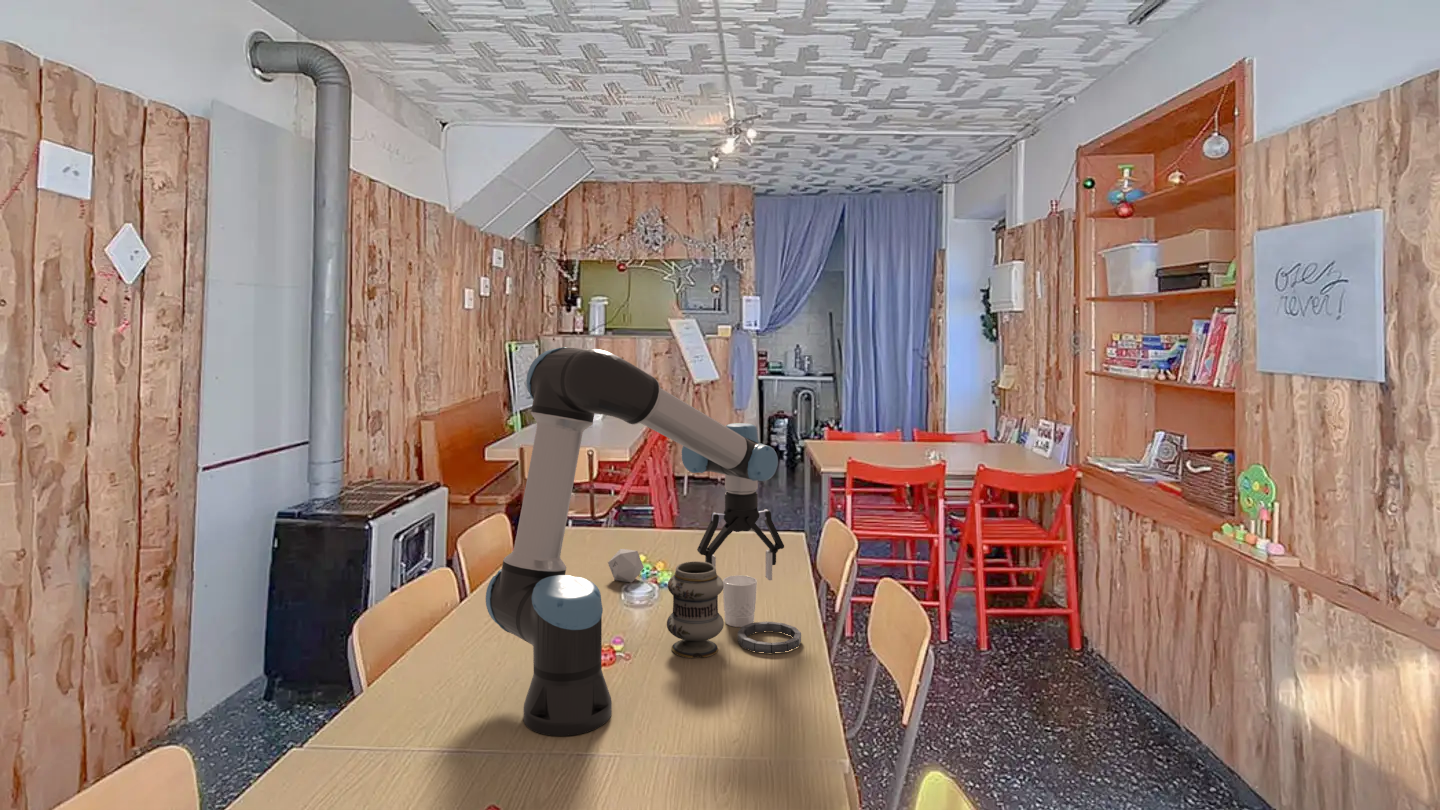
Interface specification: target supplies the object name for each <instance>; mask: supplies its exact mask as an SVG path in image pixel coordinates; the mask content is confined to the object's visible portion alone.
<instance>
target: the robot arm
mask: <svg viewBox="0 0 1440 810" xmlns="http://www.w3.org/2000/svg"><path fill="white" fill-rule="evenodd" d="M525 383H526V389H527V393H529V395H530V398H531V399H532V407H531V411H530V414H531V416H532V418H534V421H535V422H536V430H535V436H534V440H533V445H532V451H531V455H530V462H529V467H528V471H527V472H528V473H527V477H526V485H525V490H524V494H523V499H522V504H521V510H520V516H519V520H518V525H517V532H516V536H515V541H514V546H513V547H514V548H513V550H512V552H511V553H509V554H507V555H506V556H505V557H504V558H503V560H502V566H501V568H500V569H499V570H498V571H497V573H496V574H495V575H493V576H492V577H491V579H490V581H489V583H488V585H487V587H486V590H485V591H486V592H485V606H486V609H487V610H486V611H487V612H488V615H489V617H490V618H491V619H492V620H493V622H494V623H496V624H497V625H498V626H499V627H500V628H501V629H502V630H503V631H505V632H507V633H509V634H512V635H514V636H516V637H517V638H519V639H520V640H521V639H522V641H525V642H526V643H528V644H530V645H531V646H532V650H533V651H532V652H533V655H532V656H533V658H532V659H533V663H532V664H533V673H532V674H533V676H532V678H531V681H530V685H529V688H528V692H527V694H526V697H525V701H524V702H523V703H524V704H523V709H522V710H523V711H522V712H523V723H524V725H525V726H526V727H527V728H528V729H529V730H531V731H533V732H536V733H538V734H540V735H541V734H542V735H547V736H554V737H565V736H568V737H569V736H574V735H575V736H576V735H581V734H584V733H588V732H591V731H594V730H596V729H598V728H600V727H602V726H603V725H605V724H606V723H607V722H608V721H609V719H611V716H612V709H613V708H612V697H611V693H610V691H609V687H608V685H607V682H606V679H605V676H604V673H603V671H602V668H603V667H602V648H603V647H602V646H603V645H602V642H603V641H602V637H603V636H602V635H603V633H602V632H603V631H602V627H603V625H602V623H603V622H602V621H603V619H602V617H603V611H604V610H603V604H602V595H601V591H600V589H599V586H597V585H596V584H595V583H594V582H593V581H592V580H590V579H588V578H585V577H581V576H572V574H571V575H569V574H566V571H567V565H566V563H564V561H563V560H562V558H561V554H562V548H563V542H564V537H565V531H566V527H567V522H568V515H569V509H570V505H571V498H572V494H573V489H574V488H573V487H574V484H575V483H574V482H575V477H576V471H577V467H578V460H579V456H580V450H581V445H582V443H581V442H582V438H583V433H584V432H585V430H587V429H588V428H589V427H591V426H593V423H594V418H595V415H596V414H599V415H604V416H609V417H613V418H616V419H619V420H622V421H624V422H626V423H627V424H629V425H638V424H641V425H643V426H645V427H647V428H649V429H651V430H652V431H655V432H656V433H658V434H660V435H662V436H664V437H666V438H667V439H670V440H671V441H673V442H675V443H677V444H679V445H681V446H682V448H681V462H682V464H683V466H684V468H685V469H686V470H687V471H688V472H689V473H691V474H698V473H700V474H704V473H706V472H711V473H717V474H721V475H724V489H725V493H724V511H723V513H718V512H715V511H711V514H710V521H709V524H708V525H707V528H706V529H705V532H704V534H703V536H702V539H701V540H700V543H699V545H698V547H697V552H698V553H699V554H700V555H701V556H705V557H704V558H705V561H704V562H707V563H711V564H713V565H714V566H715V568H716V569H717V567H716V566H717V564H716V563H717V560H716V559H717V557H716V556H715V555H714V554H715V553H716V552H717V551H718V549H719V547H721V546H722V544H723V543H724V542H725V540H726V539H727V538H728V536H729V535H731V534H732V533H733V532H736V533H740V532H749V531H750V530H752V531H753V532H754V533H755V534H756V535H757V537H758V538H759V539H760V540H761V541H762V542H763V543H764V545H765V546H766V547H767V548H768V549H765V578H766V579H767V580H768V581H773V566H775V565H776V564H777V553H778V552H779V550H782V549H784V548H785V544H784V543H783V541H782V538H781V536H780V535H779V532H778V530H777V527H776V526H775V524H774V522H773V520H772V519H773V518H772V512H771V511H770V510H769V509H767V508H763V510H759V511H758V501H759V500H758V499H759V497H758V492H757V490H758V488H759V487H758V482H766V481H768V480H770V479H771V478H772V477H774V475H775V474H776V471H777V468H778V465H779V457H778V454H777V452H776V451H775V449H774V448H773V447H772V446H770V445H766V444H764V443H759V436H758V435H759V434H758V427H757V426H756V425H755V424H752V423H748V422H747V423H744V422H743V423H742V422H741V423H740V422H738V423H736V422H735V423H734V422H733V423H729V424H726V425H724V424H722V423H721V422H719V421H717V420H716V419H714V418H712V417H711V416H709V415H708V414H705V413H703V412H702V411H700V410H699V409H697V408H695V407H694V406H693V405H690V404H689V403H687V402H686V401H683V400H682V399H680V398H678V397H677V396H675V395H674V394H672V393H670V392H668V391H667V390H666V389H664V388H662V387H661V385H660V382H659V381H658V380H657V378H656V377H654V376H652V375H651V374H650V373H649V374H648V372H646V371H644V370H642V369H641V368H639V367H637V366H636V365H634V364H632V363H631V362H629V361H628V360H625V359H624V358H622V357H620V356H618V355H617V354H614V353H612V352H610V351H608V350H603V349H601V348H600V349H599V348H581V347H580V348H578V347H577V348H576V347H566V346H564V347H557V348H552V349H548V350H545V351H543V352H542V353H541V354H539V355H538V356H536V357H535V359H534V360H533V361H532V362H531V364H530V365H529V368H528V371H527V374H526V381H525ZM759 518H760V519H761V520H763V521H764V523H765V526H766V527H767V529H768V531H769V533H770V536H771V537H772V540H773V541H774V543H773V542H772V541H771V540H770V539H769V538H768V537H767V535H766V534H765V533H764V532H763V531H762V529H761V528H760V527H759V526H758V525H757V524H756V523H757V522H758V520H759ZM721 521H725V523H724V524H723V526H722V528H721V530H720V531H719V533H717V535H716V536H715V537H714V539H713V536H714V535H715V532H716V530H717V529H718V526H719V524H720V523H721ZM712 539H713V540H712Z"/></svg>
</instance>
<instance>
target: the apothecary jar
mask: <svg viewBox="0 0 1440 810" xmlns="http://www.w3.org/2000/svg"><path fill="white" fill-rule="evenodd" d="M723 586H724V584H723V579H722V578H721V577H720V576H719V575H718V573H717V567H716V568H715V566H714V565H713V564H711V563H707V562H705V561H694V560H693V561H686V562H681V563H680V564H677V566H676V567H675V572H674V575H672V576H671V577H670V578H669V580H668V582H667V590H668V591H669V593H670V594H671V595H672V596H673V597H672V598H673V599H672V600H673V601H672V613H671V614H670V615H668V618H667V620H666V627H667V630H668V632H669V633H670V634H671V635H673V636H674V637H676V638H677V639H680V640H678V641H676V642H674V643H673V644H672V646H671V651H672V653H673V654H675V655H677V656H679V657H682V658H687V659H696V658H701V659H703V658H710V657H712V656H714V655H715V654H717V652H718V651H719V648H718V645H717V644H716V643H715V642H713V641H711V639H714V638H716V636H718V635H719V634H720V633H721V632H722V631H723V629H724V626H725V620H724V618H723V616H722V615H721V614H720V613H719V602H718V601H719V600H718V599H719V598H718V597H719V595H720V594H721V593H722V591H723Z"/></svg>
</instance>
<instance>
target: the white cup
mask: <svg viewBox="0 0 1440 810" xmlns="http://www.w3.org/2000/svg"><path fill="white" fill-rule="evenodd" d="M722 581H723V584H724V586H723V590H722V591H723V596H722V597H723V599H722V600H723V611H724V623H725V624H726V625H728V626H731V627H734V628H735V627H736V628H741V627H742V626H745V625H748V624H750V623H753V622H754V623H755V611H756V600H757V586H758V585H757V584H758V580H757V578H755V577H753V576H749V575H740V574H735V575H729V576H726V577H724V578H723V579H722Z"/></svg>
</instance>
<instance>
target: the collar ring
mask: <svg viewBox="0 0 1440 810" xmlns="http://www.w3.org/2000/svg"><path fill="white" fill-rule="evenodd" d="M764 631H773V632H782V633H785V634H788V635H791V636H792V637H793V638H790V639H788V640H787V639H786V640H784V641H777V642H776V641H775V642H767V641H758V640H755V639H752V638H750V637H749V636H751V635H750V634H752V635H754V634H756V633H755V632H763V633H765V632H764ZM753 633H754V634H753ZM748 635H749V636H748ZM800 642H801V643H802V632H801V631H800V630H799V629H797V627H796V626H794V625H789V624H788V623H783V622H778V621H777V622H776V621H759V622H758V621H757V622H755V621H754V623H750V624H748V625H745V626H742V627H739V629H738V632H737V643H738V644H739V645H740V646H741V648H742V649H745V648H746V649H745V650H747V649H749V650H748V651H750V650H751V651H750V652H752V651H755V652H764V653H775V652H785V651H789V650H791V649H794V648H796V647H798V646H799V644H800V645H801V643H800ZM799 647H800V646H799ZM755 652H754V653H755ZM764 653H763V654H764Z"/></svg>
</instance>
